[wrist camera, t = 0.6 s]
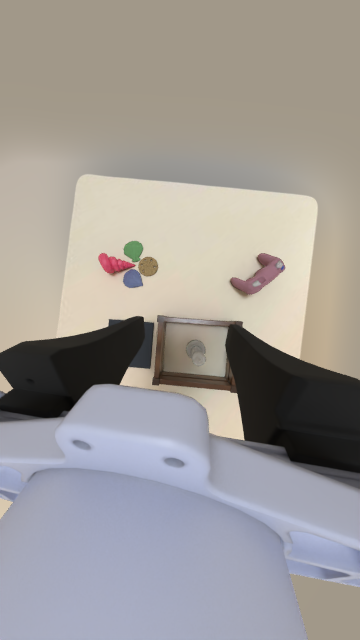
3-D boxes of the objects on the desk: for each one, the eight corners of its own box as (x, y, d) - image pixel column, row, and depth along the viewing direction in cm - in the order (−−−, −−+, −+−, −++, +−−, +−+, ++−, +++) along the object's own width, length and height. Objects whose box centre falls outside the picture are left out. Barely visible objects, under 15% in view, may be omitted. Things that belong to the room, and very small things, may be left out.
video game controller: (235, 294, 34) (257, 300, 28) (227, 279, 32) (248, 282, 26) (266, 268, 34) (295, 267, 27) (259, 252, 32) (288, 247, 26)
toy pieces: (119, 296, 34) (109, 292, 29) (101, 256, 34) (89, 246, 30) (163, 276, 33) (159, 269, 29) (145, 235, 34) (139, 222, 29)
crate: (230, 382, 32) (237, 393, 27) (157, 375, 33) (152, 385, 28) (234, 321, 32) (242, 321, 28) (161, 316, 33) (157, 315, 28)
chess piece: (192, 361, 33) (196, 379, 23) (182, 346, 33) (181, 356, 23) (208, 351, 32) (218, 364, 23) (197, 336, 33) (203, 342, 23)
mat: (150, 368, 33) (149, 368, 33) (106, 364, 34) (105, 364, 33) (153, 322, 33) (153, 322, 33) (109, 319, 34) (108, 319, 33)
